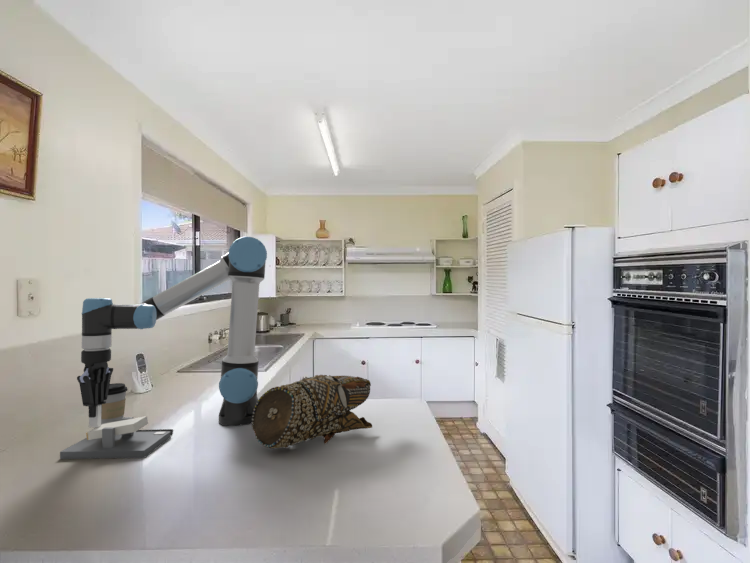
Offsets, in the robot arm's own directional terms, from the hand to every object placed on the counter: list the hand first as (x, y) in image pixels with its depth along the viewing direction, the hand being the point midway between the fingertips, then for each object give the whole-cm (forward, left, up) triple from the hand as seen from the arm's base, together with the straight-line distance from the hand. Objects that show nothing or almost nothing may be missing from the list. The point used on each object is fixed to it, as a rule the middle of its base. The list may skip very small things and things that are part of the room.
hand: (94, 426), depth 123 cm
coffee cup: (+5, -16, -7) cm, 18 cm away
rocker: (-7, 0, -2) cm, 7 cm away
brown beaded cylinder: (-67, -5, -7) cm, 68 cm away
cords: (-10, -10, -7) cm, 16 cm away
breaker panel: (-7, 0, -7) cm, 10 cm away
